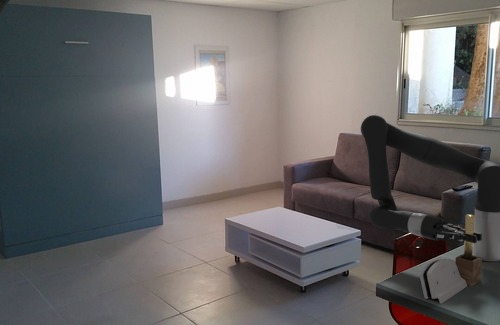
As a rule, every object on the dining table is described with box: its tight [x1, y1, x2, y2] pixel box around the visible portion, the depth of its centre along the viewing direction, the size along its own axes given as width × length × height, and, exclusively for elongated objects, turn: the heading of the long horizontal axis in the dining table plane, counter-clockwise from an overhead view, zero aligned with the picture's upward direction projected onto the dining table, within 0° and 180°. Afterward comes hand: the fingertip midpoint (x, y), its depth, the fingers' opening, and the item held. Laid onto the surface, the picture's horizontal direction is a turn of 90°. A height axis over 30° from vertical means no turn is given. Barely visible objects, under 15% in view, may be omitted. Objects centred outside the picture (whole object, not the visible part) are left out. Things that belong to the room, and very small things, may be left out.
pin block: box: [454, 253, 483, 287], centre depth 140 cm, size 5×5×8 cm
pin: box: [463, 214, 475, 261], centre depth 139 cm, size 2×2×15 cm
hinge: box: [419, 258, 468, 304], centre depth 134 cm, size 17×5×10 cm, turn 131°
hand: (478, 238), depth 136 cm, fingers closed on pin, 2 cm apart
